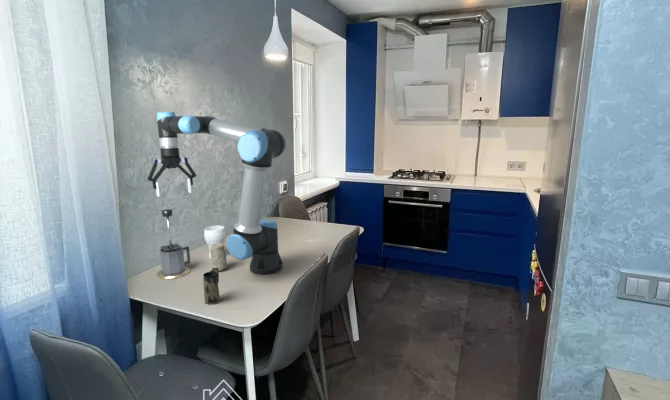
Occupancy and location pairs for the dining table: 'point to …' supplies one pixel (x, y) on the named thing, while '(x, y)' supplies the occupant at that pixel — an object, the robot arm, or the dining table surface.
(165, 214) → the black knob on rod
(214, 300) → the mug
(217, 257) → the carving
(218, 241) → the cup
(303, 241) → the dining table surface
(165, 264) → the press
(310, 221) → the dining table surface
